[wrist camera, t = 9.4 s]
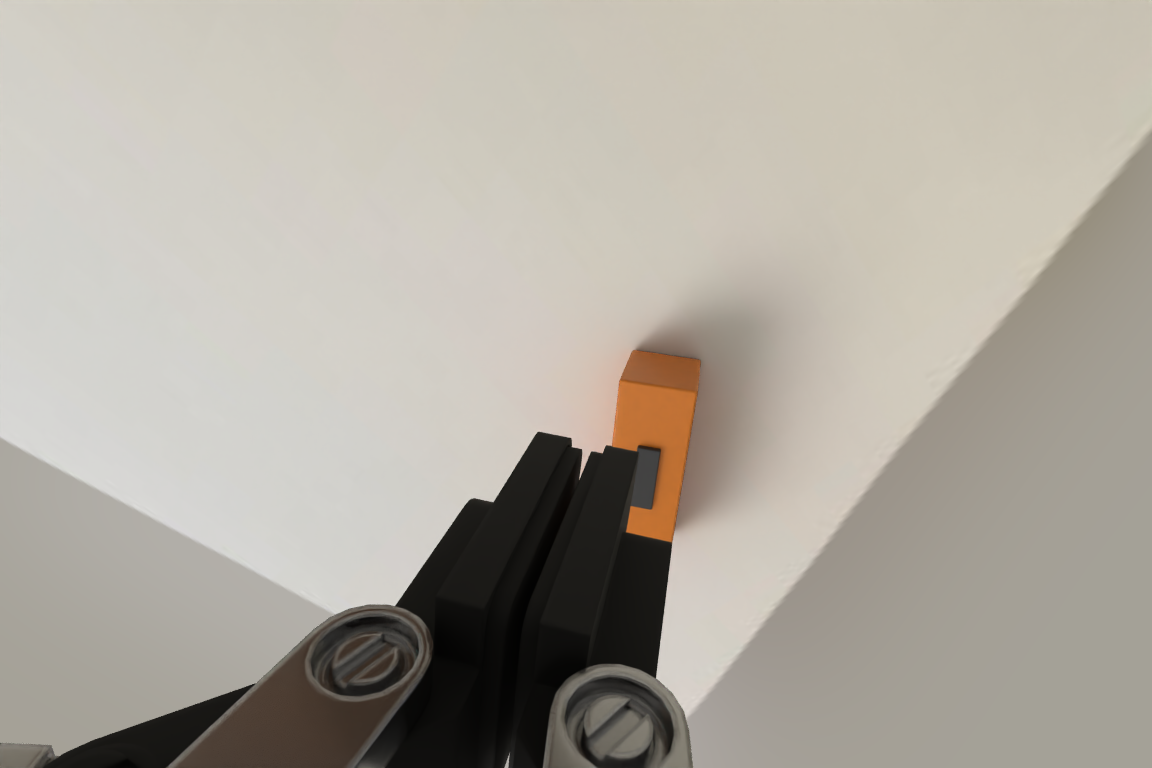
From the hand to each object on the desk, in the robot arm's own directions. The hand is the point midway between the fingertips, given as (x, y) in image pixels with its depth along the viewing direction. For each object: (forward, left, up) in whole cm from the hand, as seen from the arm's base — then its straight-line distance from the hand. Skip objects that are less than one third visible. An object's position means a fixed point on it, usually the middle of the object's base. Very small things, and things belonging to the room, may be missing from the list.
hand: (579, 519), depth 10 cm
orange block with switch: (+5, +3, -14) cm, 15 cm away
